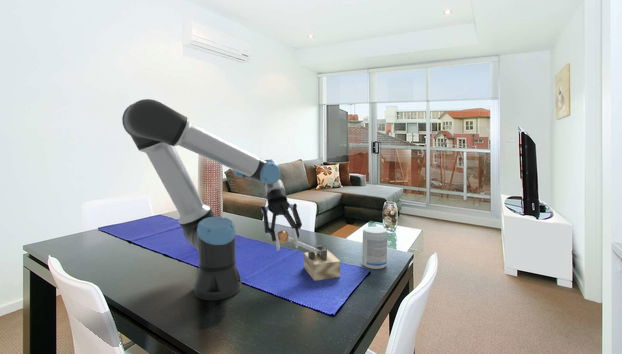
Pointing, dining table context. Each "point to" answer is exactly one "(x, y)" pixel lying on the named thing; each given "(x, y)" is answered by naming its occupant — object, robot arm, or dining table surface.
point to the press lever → (285, 237)
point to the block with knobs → (321, 264)
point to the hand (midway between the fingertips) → (288, 247)
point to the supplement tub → (374, 247)
